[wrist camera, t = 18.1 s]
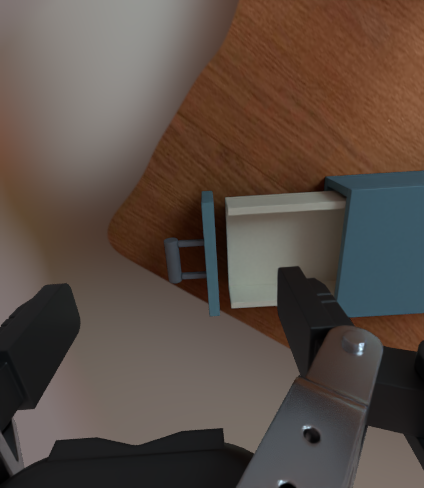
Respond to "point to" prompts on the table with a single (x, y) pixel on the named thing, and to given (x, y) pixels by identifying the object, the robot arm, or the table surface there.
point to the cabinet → (381, 243)
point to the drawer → (266, 244)
